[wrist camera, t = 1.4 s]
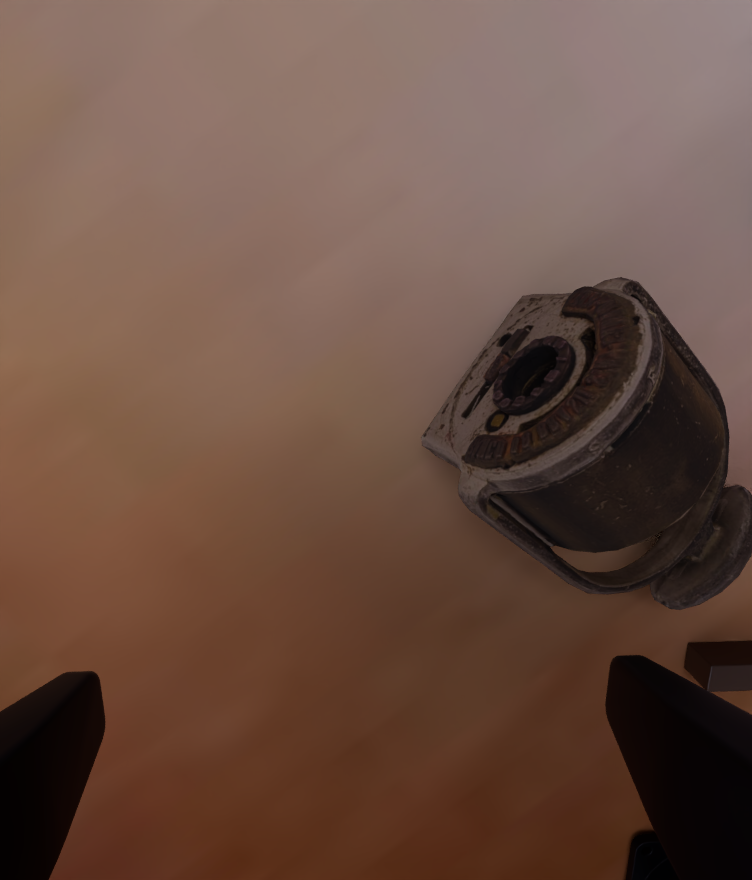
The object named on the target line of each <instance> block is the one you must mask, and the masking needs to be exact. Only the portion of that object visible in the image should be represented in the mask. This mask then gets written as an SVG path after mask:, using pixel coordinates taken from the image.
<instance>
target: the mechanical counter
mask: <svg viewBox="0 0 752 880" xmlns="http://www.w3.org/2000/svg"><path fill="white" fill-rule="evenodd" d="M421 438H422V446H424V447H425V448H427V449H428V450H430V451H431V452H432V453H434V454H435V455H436V456H438V457H439V458H441V459H443V460H445V461H447V462H448V463H450V464H451V465H453V466H455V467H457V468H458V469H460V470H461V476H460V480H459V485H458V492H459V496H460V498H461V500H462V501H463V503H464V504H465V505H466V506H467V508H468V509H469V510H470V511H471V512H473V513H474V514H475V515H477V516H478V517H479V518H481V519H482V520H483V521H485V522H486V523H487V524H489V525H490V526H491V527H493V528H494V529H495V530H497V531H498V532H499V533H501V534H502V535H503V536H505V537H506V538H508V539H509V540H510V541H512V542H513V543H514V544H516V545H517V546H518V547H520V548H521V549H522V550H524V551H525V552H527V553H528V554H529V555H531V556H532V557H533V558H535V559H536V560H538V561H539V562H540V563H542V564H543V565H545V566H546V567H547V568H548V569H550V570H551V571H552V572H554V573H555V574H556V575H558V576H559V577H560V578H562V579H563V580H564V581H566V582H567V583H568V584H570V585H572V586H574V587H576V588H578V589H580V590H582V591H584V592H586V593H592V594H615V593H624V592H630V591H633V590H636V589H639V588H642V587H645V586H646V585H648V584H650V589H651V594H652V596H653V598H654V600H656V601H657V602H659V603H661V604H663V605H664V606H666V607H668V608H669V609H676V610H681V609H685V608H689V607H693V606H696V605H700V604H701V603H703V602H705V601H707V600H708V599H710V598H712V597H714V596H715V595H717V594H719V593H721V592H722V591H723V590H724V589H725V588H726V587H727V586H728V585H729V584H731V583H732V582H733V581H734V580H735V579H736V578H737V577H738V576H739V575H740V573H741V571H742V570H743V568H744V567H745V565H746V563H747V562H748V560H749V558H750V557H751V553H752V495H751V493H750V492H749V491H748V490H747V489H745V488H744V487H742V486H740V485H735V486H730V487H725V488H723V487H724V483H725V480H726V477H727V473H728V453H729V429H728V423H727V416H726V410H725V405H724V403H723V400H722V397H721V394H720V391H719V389H718V387H717V386H716V384H715V383H714V381H713V380H712V378H711V376H710V375H709V373H708V372H707V371H706V369H705V368H704V367H703V365H702V364H701V363H700V361H699V360H698V359H697V357H696V356H695V355H694V353H693V352H692V351H691V349H690V348H689V347H688V345H687V344H686V343H685V341H684V340H683V339H682V337H681V336H680V335H679V333H678V332H677V331H676V329H675V328H674V327H673V325H672V324H671V323H670V321H669V320H668V319H667V317H666V316H665V315H664V313H663V312H662V311H661V309H660V308H659V307H658V305H657V304H656V303H655V301H654V300H653V298H652V297H651V296H650V295H649V294H648V293H647V291H646V290H645V289H644V288H643V287H642V286H641V285H640V283H639V282H637V281H633V280H629V279H625V278H622V277H620V278H615V279H610V280H605V281H603V282H601V283H599V284H597V285H595V286H594V287H586V286H585V287H582V288H579V289H577V290H575V291H574V292H573V293H568V294H533V295H526V296H522V298H521V299H520V300H519V301H518V302H517V304H516V305H515V306H514V307H513V309H512V310H511V311H510V313H509V314H508V316H507V317H506V319H505V320H504V322H503V323H502V324H501V326H500V327H499V329H498V330H497V331H496V333H495V334H494V335H493V337H492V338H491V339H490V341H489V342H488V343H487V344H486V346H485V347H484V348H483V350H482V351H481V352H480V354H479V355H478V356H477V358H476V359H475V361H474V362H473V363H472V365H471V366H470V367H469V369H468V370H467V371H466V373H465V374H464V376H463V377H462V379H461V380H460V381H459V383H458V384H457V386H456V387H455V388H454V390H453V391H452V393H451V394H450V396H449V397H448V399H447V400H446V402H445V403H444V404H443V406H442V407H441V409H440V410H439V412H438V413H437V415H436V416H435V418H434V419H433V421H432V422H431V424H430V425H429V427H428V428H427V430H426V431H425V433H424V434H423V435H422V437H421ZM663 530H664V531H663ZM661 531H663V532H662V534H661V535H660V537H659V539H658V540H657V542H656V544H655V545H654V546H653V547H652V548H651V549H650V550H649V551H648V552H647V553H646V554H645V555H644V556H643V557H641V558H640V559H638V560H636V561H635V562H633V563H632V564H630V565H628V566H626V567H624V568H621V569H619V570H615V571H610V572H593V573H589V572H585V571H580V570H577V569H576V568H574V567H573V566H571V565H570V564H568V563H567V562H566V561H564V560H563V559H562V558H561V557H559V556H558V555H557V554H555V553H554V552H553V550H552V549H551V548H550V547H552V546H555V545H556V546H559V547H563V548H566V549H570V550H573V551H583V552H593V553H596V552H605V551H614V550H619V549H622V548H625V547H628V546H631V545H634V544H637V543H640V542H642V541H645V540H647V539H649V538H651V537H652V536H654V535H656V534H658V533H660V532H661Z"/></svg>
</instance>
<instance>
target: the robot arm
mask: <svg viewBox="0 0 752 880" xmlns="http://www.w3.org/2000/svg"><path fill="white" fill-rule="evenodd" d="M605 707H606V714H607V718H608V721H609V724H610V726H611V729H612V731H613V733H614V736H615V738H616V741H617V743H618V745H619V748H620V750H621V753H622V755H623V758H624V760H625V762H626V765H627V767H628V770H629V772H630V774H631V777H632V779H633V782H634V784H635V787H636V789H637V791H638V794H639V796H640V799H641V801H642V803H643V806H644V808H645V811H646V813H647V815H648V817H649V820H650V822H651V824H652V826H653V829H654V831H655V833H651V834H640V835H638V836H636V837H635V838H634V839H633V840H632V843H631V848H630V855H629V862H628V868H627V875H626V880H752V715H751V714H749V713H747V712H745V711H744V710H742V709H740V708H738V707H736V706H734V705H733V704H731V703H729V702H727V701H725V700H723V699H722V698H720V697H718V696H716V695H714V694H712V693H710V692H709V691H707V690H705V689H703V688H701V687H699V686H698V685H696V684H694V683H692V682H690V681H688V680H687V679H685V678H683V677H681V676H679V675H677V674H675V673H674V672H672V671H670V670H668V669H666V668H664V667H663V666H661V665H659V664H657V663H655V662H653V661H652V660H650V659H648V658H646V657H644V656H641V655H626V656H616V657H615V658H613V659H612V661H611V665H610V671H609V678H608V686H607V694H606V702H605ZM104 732H105V713H104V706H103V699H102V691H101V684H100V679H99V677H98V675H97V674H96V673H95V672H93V671H81V672H66V673H63V674H61V675H60V676H58V677H56V678H55V679H53V680H52V681H50V682H48V683H47V684H45V685H43V686H42V687H40V688H38V689H37V690H35V691H33V692H32V693H30V694H29V695H27V696H25V697H24V698H22V699H20V700H19V701H17V702H15V703H14V704H12V705H10V706H9V707H7V708H6V709H4V710H2V711H1V712H0V880H49V878H50V875H51V873H52V871H53V869H54V866H55V864H56V862H57V860H58V857H59V855H60V852H61V850H62V847H63V845H64V842H65V840H66V837H67V835H68V832H69V829H70V826H71V824H72V821H73V818H74V816H75V813H76V810H77V807H78V805H79V802H80V799H81V797H82V794H83V791H84V788H85V786H86V783H87V780H88V778H89V775H90V772H91V769H92V767H93V764H94V761H95V759H96V756H97V753H98V750H99V748H100V745H101V742H102V739H103V736H104Z"/></svg>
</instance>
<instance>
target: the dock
mask: <svg viewBox="0 0 752 880" xmlns="http://www.w3.org/2000/svg"><path fill="white" fill-rule="evenodd" d="M684 667H685V669H686V670H687V671H688V672H689V673H690V674H691V675H692V676H693V677H694V678H695V679H696V680H697V681H698V682H699V684H700V685H701V686H702V687H703V688H704V689H705V690H707V691H709V692H718V691H746V690H752V641H738V642H706V643H688V648H687V654H686V660H685V666H684Z"/></svg>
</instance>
